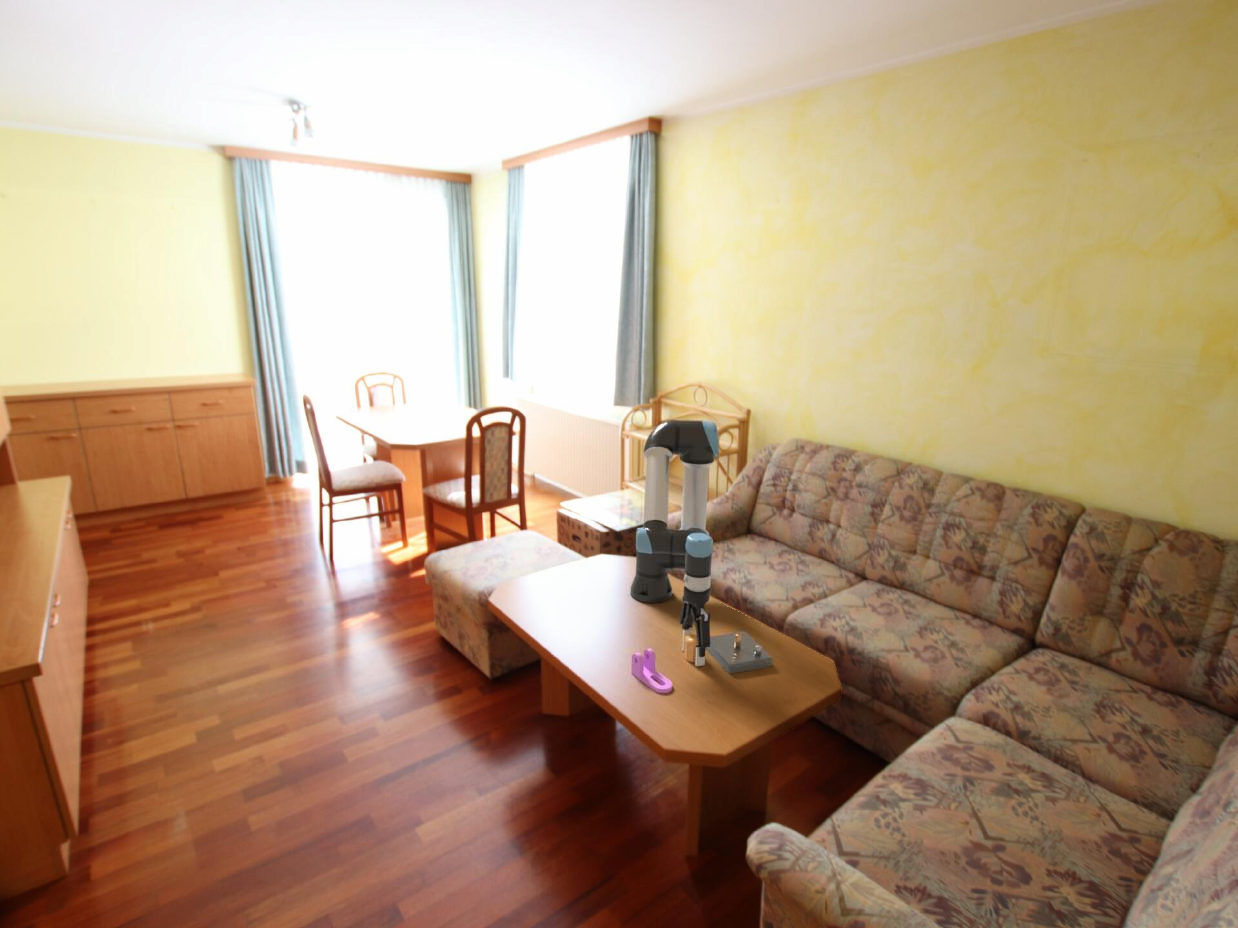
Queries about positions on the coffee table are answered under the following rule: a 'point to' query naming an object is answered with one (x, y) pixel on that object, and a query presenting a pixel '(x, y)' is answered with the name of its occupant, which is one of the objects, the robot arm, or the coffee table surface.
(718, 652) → the block
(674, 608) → the coffee table surface
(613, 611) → the coffee table surface
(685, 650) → the orange faceted knob
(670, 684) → the bracket
